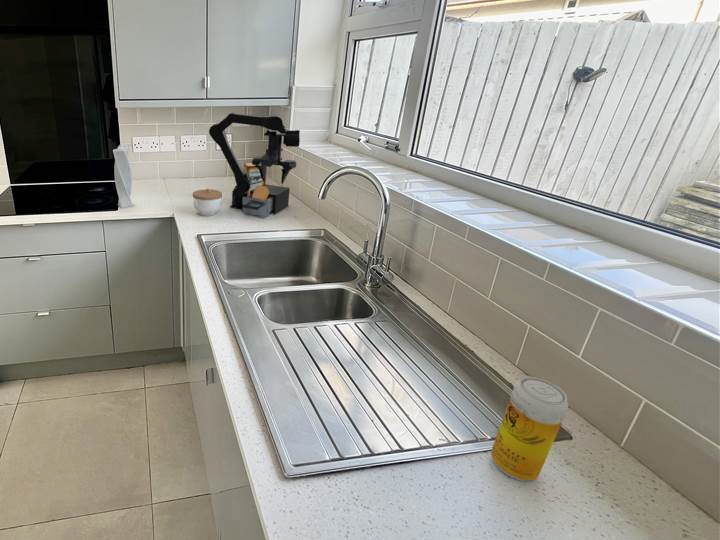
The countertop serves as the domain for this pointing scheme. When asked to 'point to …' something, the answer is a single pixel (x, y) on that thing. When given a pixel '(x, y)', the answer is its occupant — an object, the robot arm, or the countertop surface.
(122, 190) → the skyscraper
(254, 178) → the baking soda box
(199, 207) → the lidded bowl
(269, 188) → the drawer box
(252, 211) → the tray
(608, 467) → the countertop surface
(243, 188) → the robot arm
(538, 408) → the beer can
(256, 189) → the wooden block
